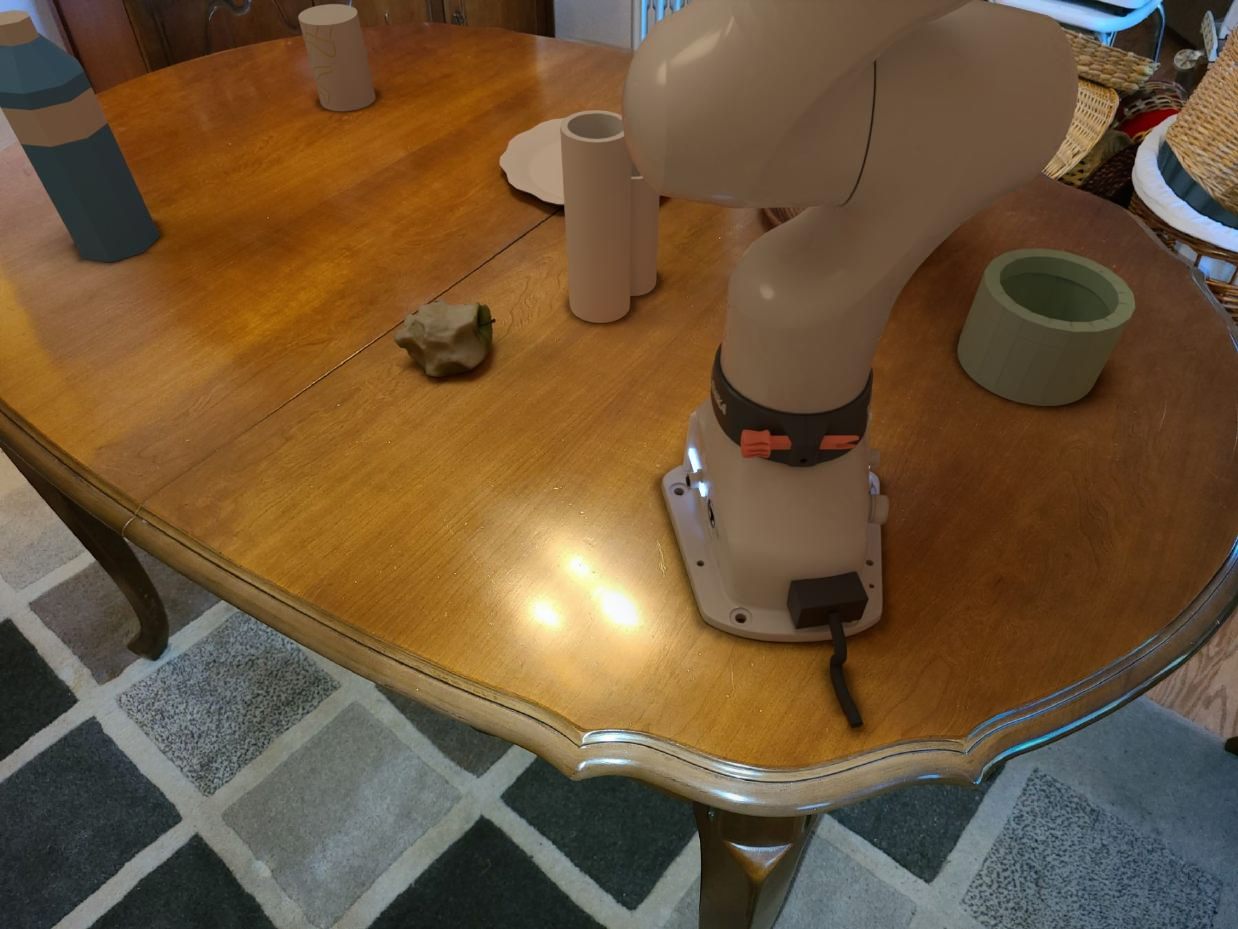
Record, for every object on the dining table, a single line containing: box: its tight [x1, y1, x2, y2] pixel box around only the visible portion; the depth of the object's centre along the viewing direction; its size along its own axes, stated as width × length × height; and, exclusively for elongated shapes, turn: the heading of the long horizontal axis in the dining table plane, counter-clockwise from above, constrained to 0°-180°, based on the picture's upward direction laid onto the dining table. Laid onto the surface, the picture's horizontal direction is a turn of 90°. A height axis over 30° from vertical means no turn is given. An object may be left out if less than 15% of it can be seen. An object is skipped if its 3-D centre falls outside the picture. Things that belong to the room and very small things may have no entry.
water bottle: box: [0, 9, 161, 263], centre depth 91 cm, size 9×9×25 cm
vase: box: [560, 109, 660, 324], centre depth 86 cm, size 11×7×20 cm, turn 148°
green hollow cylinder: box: [956, 248, 1136, 407], centre depth 82 cm, size 13×13×9 cm
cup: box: [297, 3, 376, 112], centre depth 123 cm, size 8×8×12 cm
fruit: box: [393, 299, 497, 378], centre depth 83 cm, size 9×9×8 cm
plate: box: [499, 117, 662, 207], centre depth 111 cm, size 25×25×2 cm
